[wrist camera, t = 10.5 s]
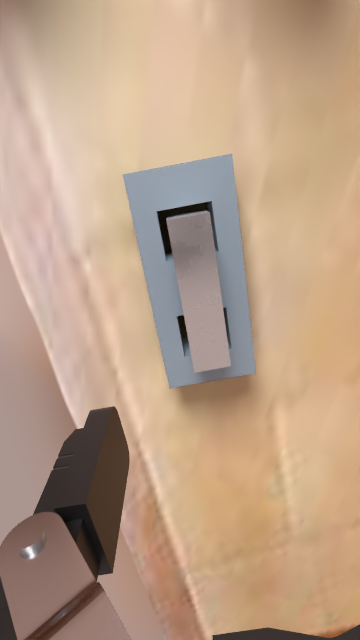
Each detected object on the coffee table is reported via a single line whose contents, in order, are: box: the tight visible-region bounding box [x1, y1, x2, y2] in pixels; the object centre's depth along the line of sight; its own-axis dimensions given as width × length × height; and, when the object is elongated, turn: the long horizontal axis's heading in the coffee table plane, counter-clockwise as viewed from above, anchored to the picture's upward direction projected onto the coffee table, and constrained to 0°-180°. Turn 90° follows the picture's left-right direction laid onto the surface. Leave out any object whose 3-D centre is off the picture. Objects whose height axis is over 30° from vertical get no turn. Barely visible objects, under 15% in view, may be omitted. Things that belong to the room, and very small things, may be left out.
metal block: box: [166, 211, 231, 373], centre depth 24 cm, size 2×10×7 cm, turn 10°
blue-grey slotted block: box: [123, 154, 256, 388], centre depth 26 cm, size 7×16×4 cm, turn 10°
